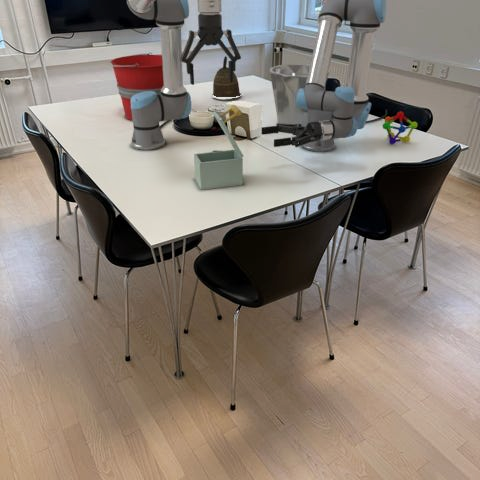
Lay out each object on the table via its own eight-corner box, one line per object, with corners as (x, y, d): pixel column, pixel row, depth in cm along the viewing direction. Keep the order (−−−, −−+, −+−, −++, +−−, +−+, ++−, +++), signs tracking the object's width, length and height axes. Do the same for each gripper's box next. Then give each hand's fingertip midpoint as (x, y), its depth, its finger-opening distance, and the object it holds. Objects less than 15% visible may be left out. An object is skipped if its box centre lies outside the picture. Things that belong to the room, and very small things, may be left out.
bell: (227, 105, 294) (202, 96, 282) (238, 66, 289) (213, 55, 277) (243, 108, 280) (217, 98, 268) (255, 66, 275) (229, 55, 263)
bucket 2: (296, 138, 215) (301, 78, 201) (255, 124, 234) (256, 68, 219) (335, 125, 232) (342, 70, 217) (294, 113, 251) (297, 61, 236)
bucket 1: (124, 106, 262) (117, 51, 246) (183, 106, 262) (180, 52, 246) (108, 124, 233) (99, 63, 217) (174, 124, 232) (170, 64, 216)
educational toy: (377, 146, 209) (379, 114, 202) (384, 138, 219) (386, 107, 211) (411, 149, 202) (415, 116, 195) (417, 141, 212) (420, 109, 204)
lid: (219, 120, 154) (239, 107, 154) (212, 112, 162) (231, 99, 162) (241, 157, 164) (260, 145, 164) (234, 148, 172) (252, 136, 172)
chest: (200, 190, 166) (199, 163, 160) (195, 179, 174) (193, 153, 168) (242, 184, 170) (242, 158, 164) (235, 174, 178) (235, 149, 173)
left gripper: (172, 15, 134) (177, 87, 146) (250, 13, 141) (249, 82, 152) (168, 13, 140) (173, 82, 152) (243, 11, 147) (243, 78, 158)
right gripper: (332, 151, 165) (279, 158, 160) (304, 129, 185) (256, 135, 180) (334, 132, 161) (280, 138, 156) (306, 112, 181) (257, 117, 176)
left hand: (211, 82), depth 152 cm, fingers open, 13 cm apart
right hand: (267, 137), depth 168 cm, fingers open, 13 cm apart
